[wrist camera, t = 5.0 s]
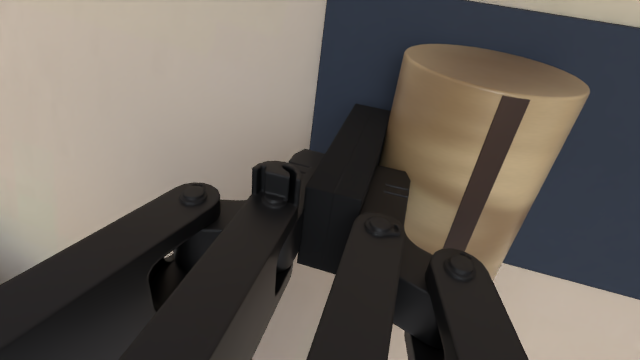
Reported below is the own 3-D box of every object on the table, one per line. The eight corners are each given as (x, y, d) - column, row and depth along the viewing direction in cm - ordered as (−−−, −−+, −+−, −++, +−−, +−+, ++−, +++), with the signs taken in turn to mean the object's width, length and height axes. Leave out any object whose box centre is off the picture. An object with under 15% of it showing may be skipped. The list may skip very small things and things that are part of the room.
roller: (364, 204, 18) (357, 289, 14) (401, 35, 14) (408, 76, 10) (477, 225, 18) (507, 320, 13) (549, 58, 14) (631, 112, 9)
